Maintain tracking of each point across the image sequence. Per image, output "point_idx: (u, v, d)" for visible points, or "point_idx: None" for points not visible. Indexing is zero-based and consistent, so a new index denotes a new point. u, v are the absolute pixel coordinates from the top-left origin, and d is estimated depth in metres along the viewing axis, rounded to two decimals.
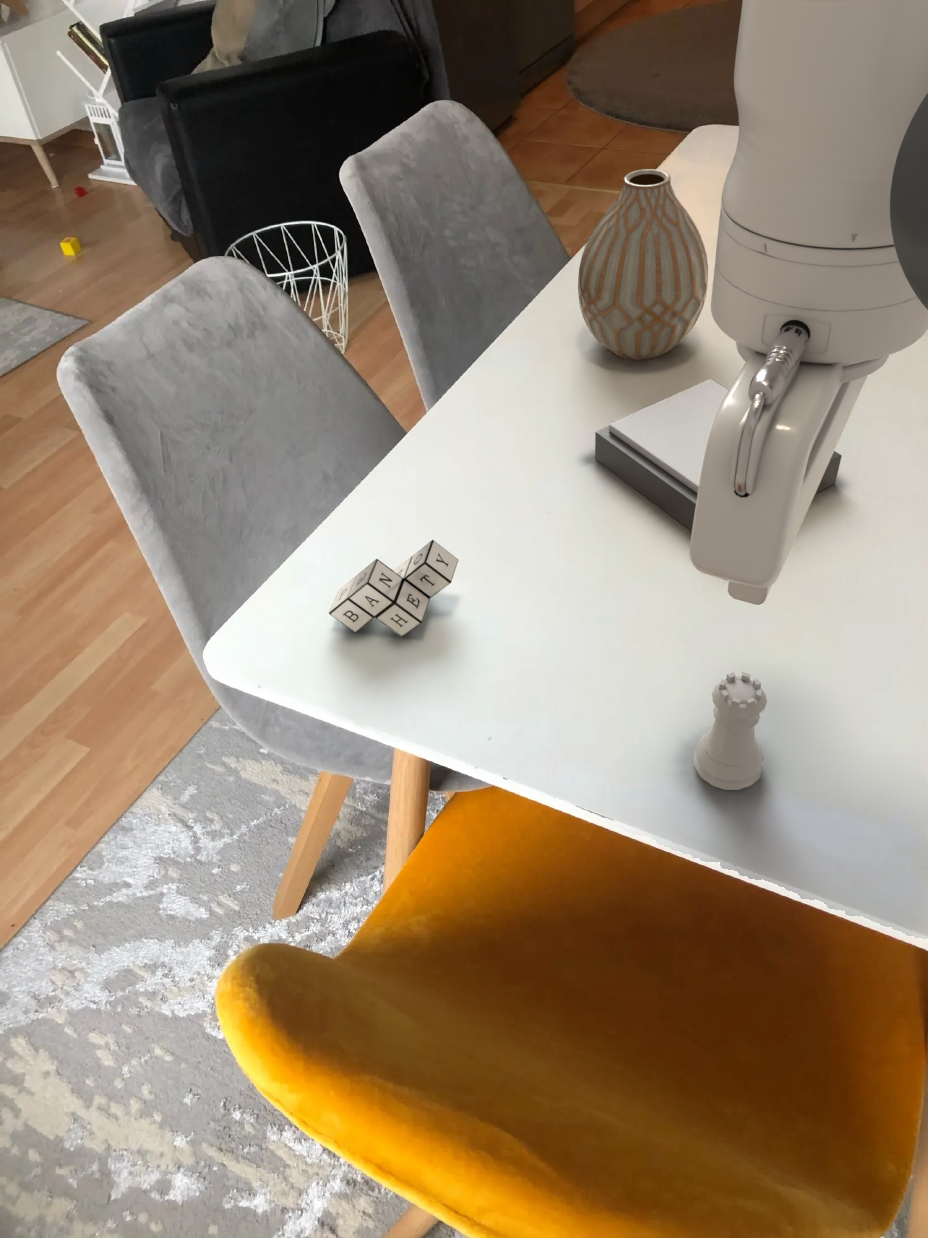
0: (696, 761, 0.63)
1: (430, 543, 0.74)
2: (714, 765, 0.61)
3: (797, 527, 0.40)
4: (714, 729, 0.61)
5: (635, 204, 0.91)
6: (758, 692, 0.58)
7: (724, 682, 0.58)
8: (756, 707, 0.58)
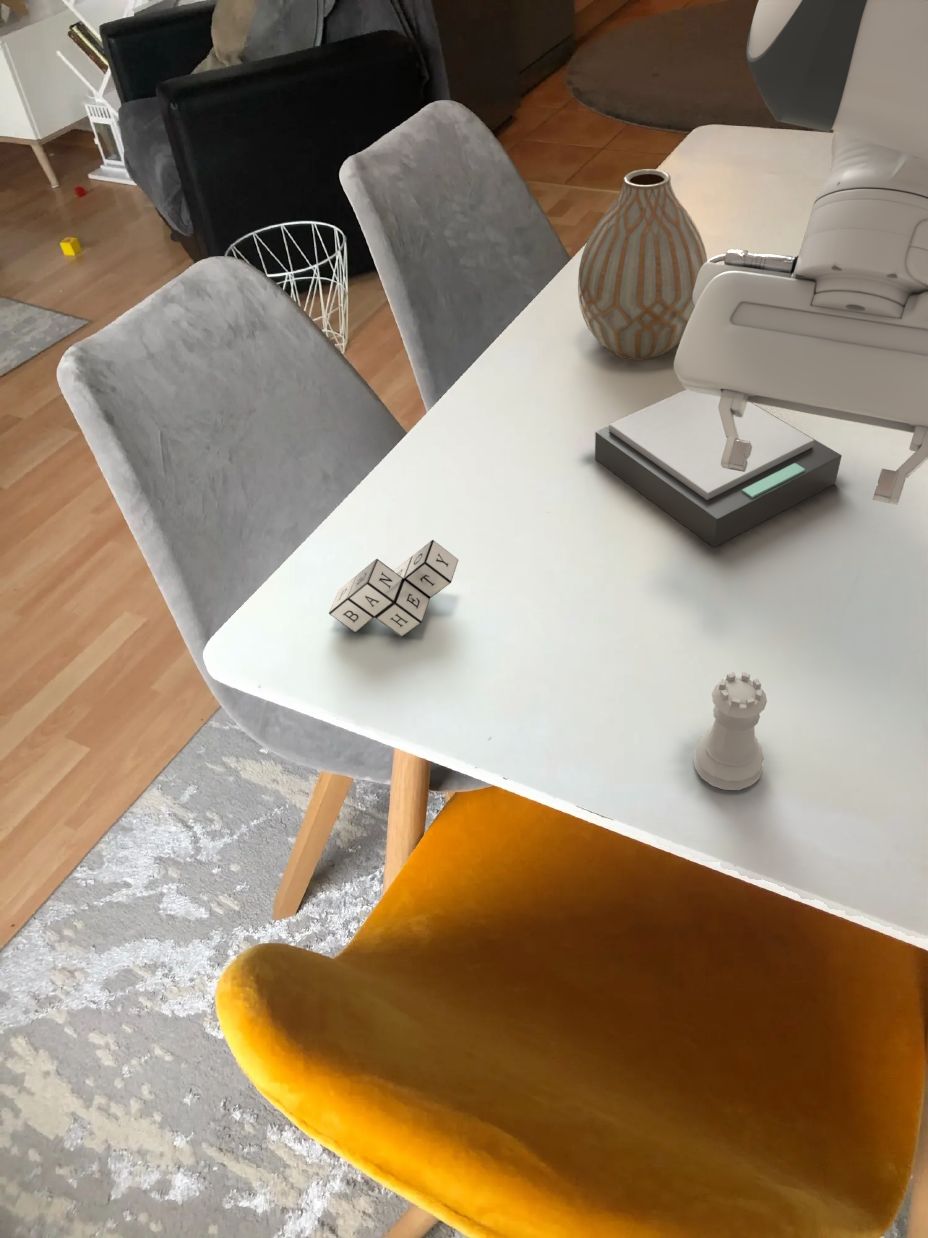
0: (696, 761, 0.63)
1: (430, 543, 0.74)
2: (713, 765, 0.61)
3: (727, 365, 0.61)
4: (714, 729, 0.61)
5: (635, 204, 0.91)
6: (758, 692, 0.58)
7: (724, 682, 0.58)
8: (756, 707, 0.58)
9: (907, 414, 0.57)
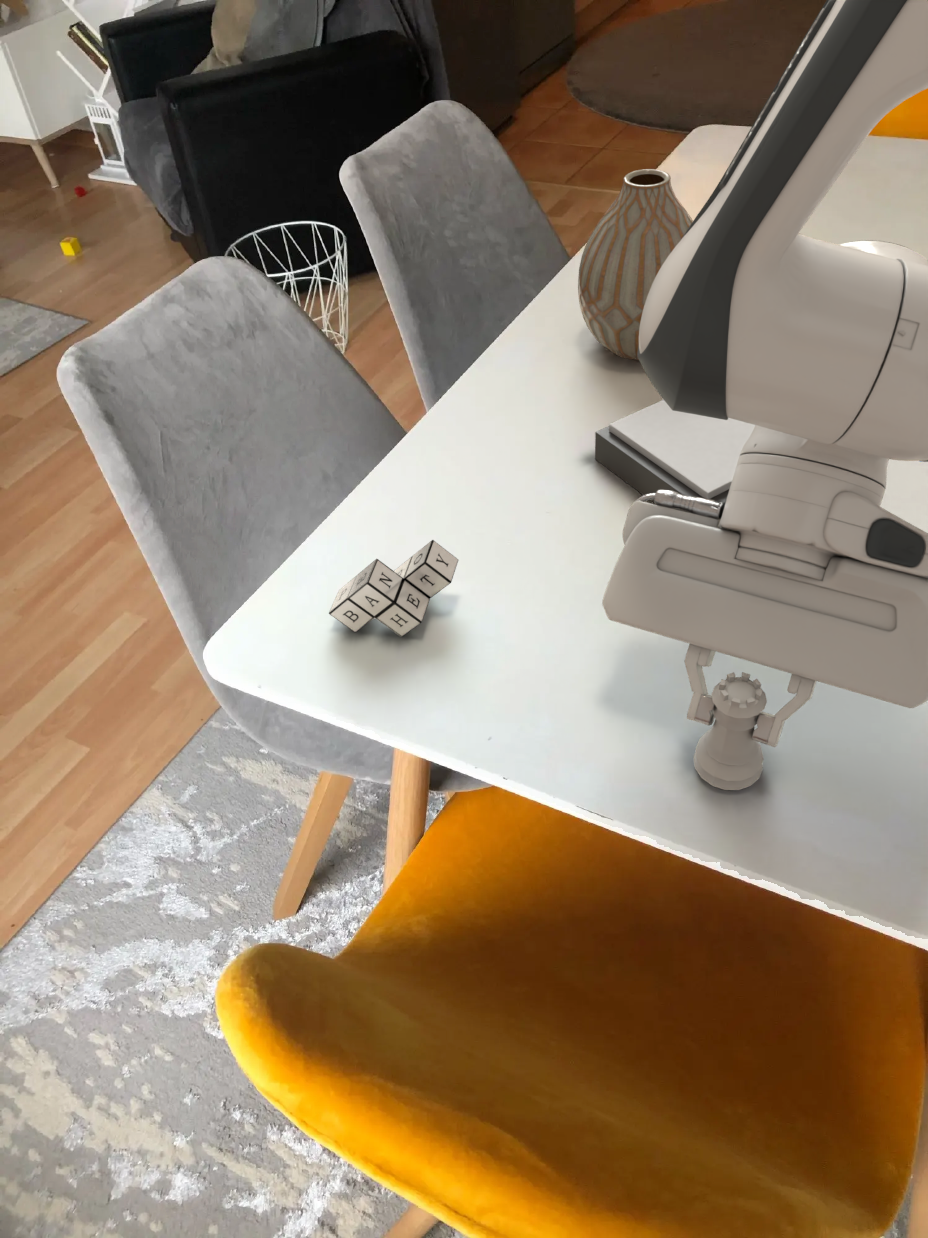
0: (696, 761, 0.63)
1: (430, 543, 0.74)
2: (714, 765, 0.61)
3: (653, 611, 0.61)
4: (714, 729, 0.61)
5: (635, 204, 0.91)
6: (758, 692, 0.58)
7: (724, 682, 0.58)
8: (756, 707, 0.58)
9: (827, 678, 0.57)
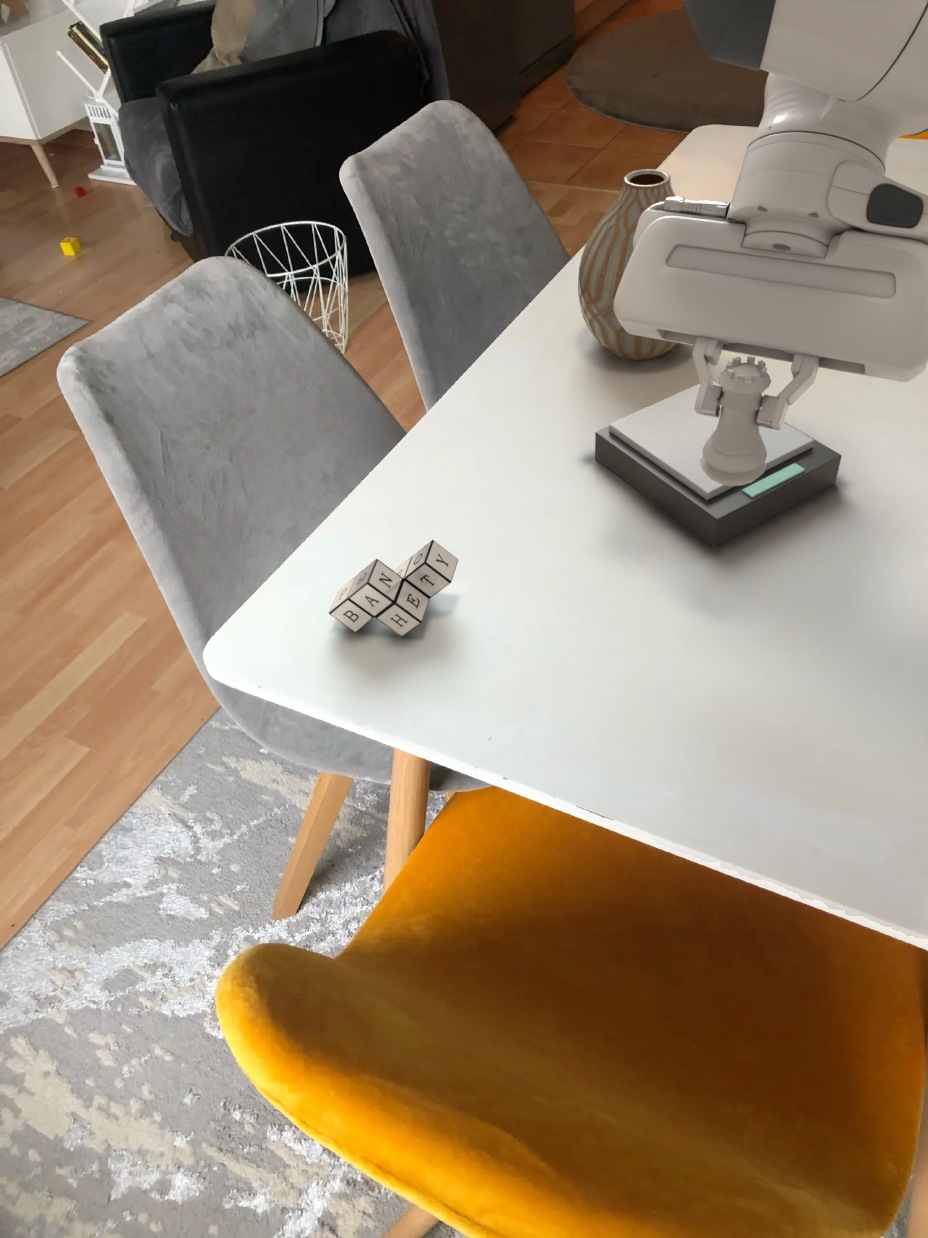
0: (702, 463, 0.66)
1: (430, 543, 0.74)
2: (720, 457, 0.64)
3: (662, 305, 0.63)
4: (720, 420, 0.64)
5: (635, 204, 0.91)
6: (763, 369, 0.60)
7: (730, 363, 0.61)
8: (761, 383, 0.60)
9: (829, 349, 0.59)
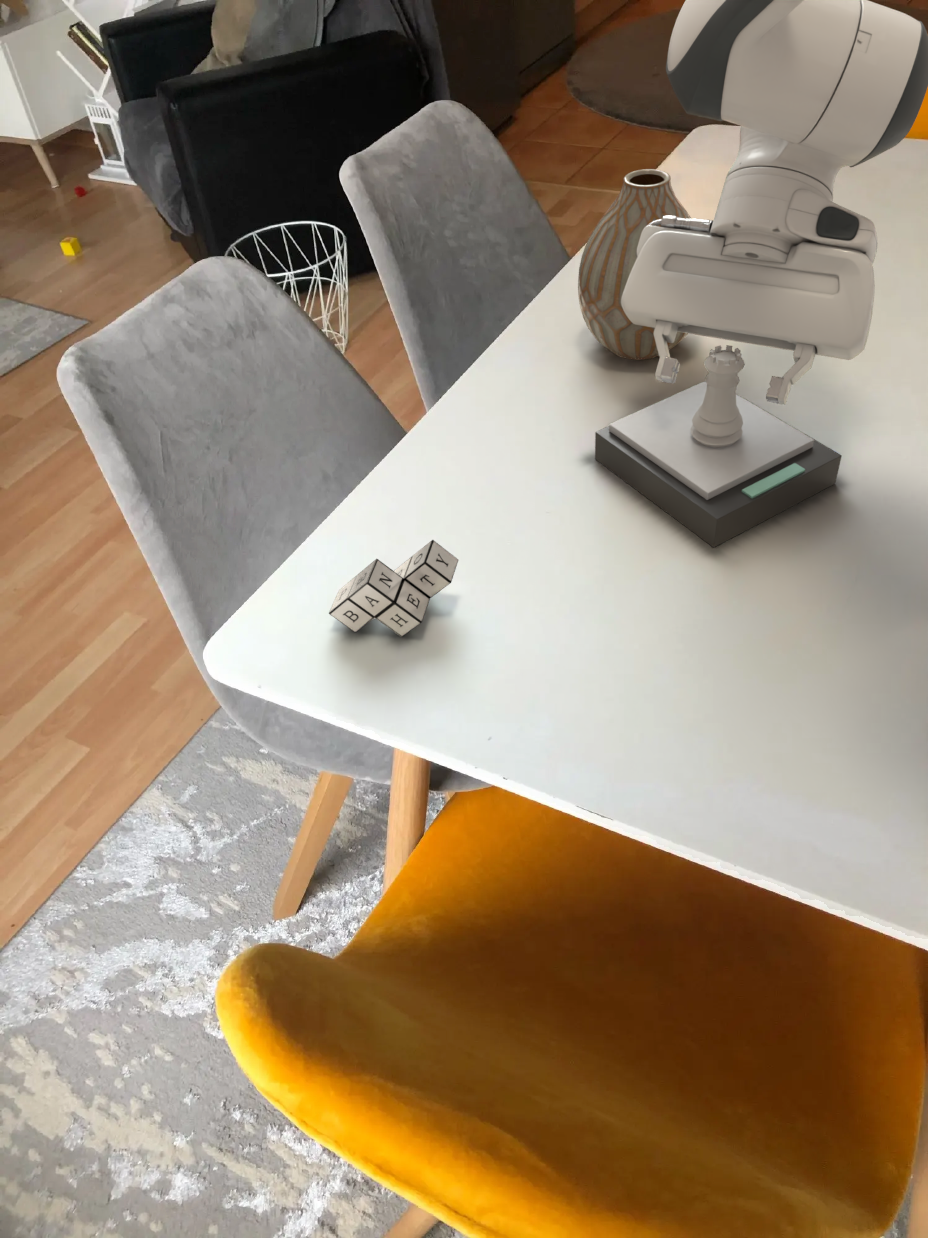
0: (692, 430, 0.84)
1: (430, 543, 0.74)
2: (705, 425, 0.82)
3: (659, 301, 0.81)
4: (706, 395, 0.81)
5: (635, 204, 0.91)
6: (738, 354, 0.78)
7: (713, 350, 0.79)
8: (736, 365, 0.78)
9: (789, 334, 0.76)
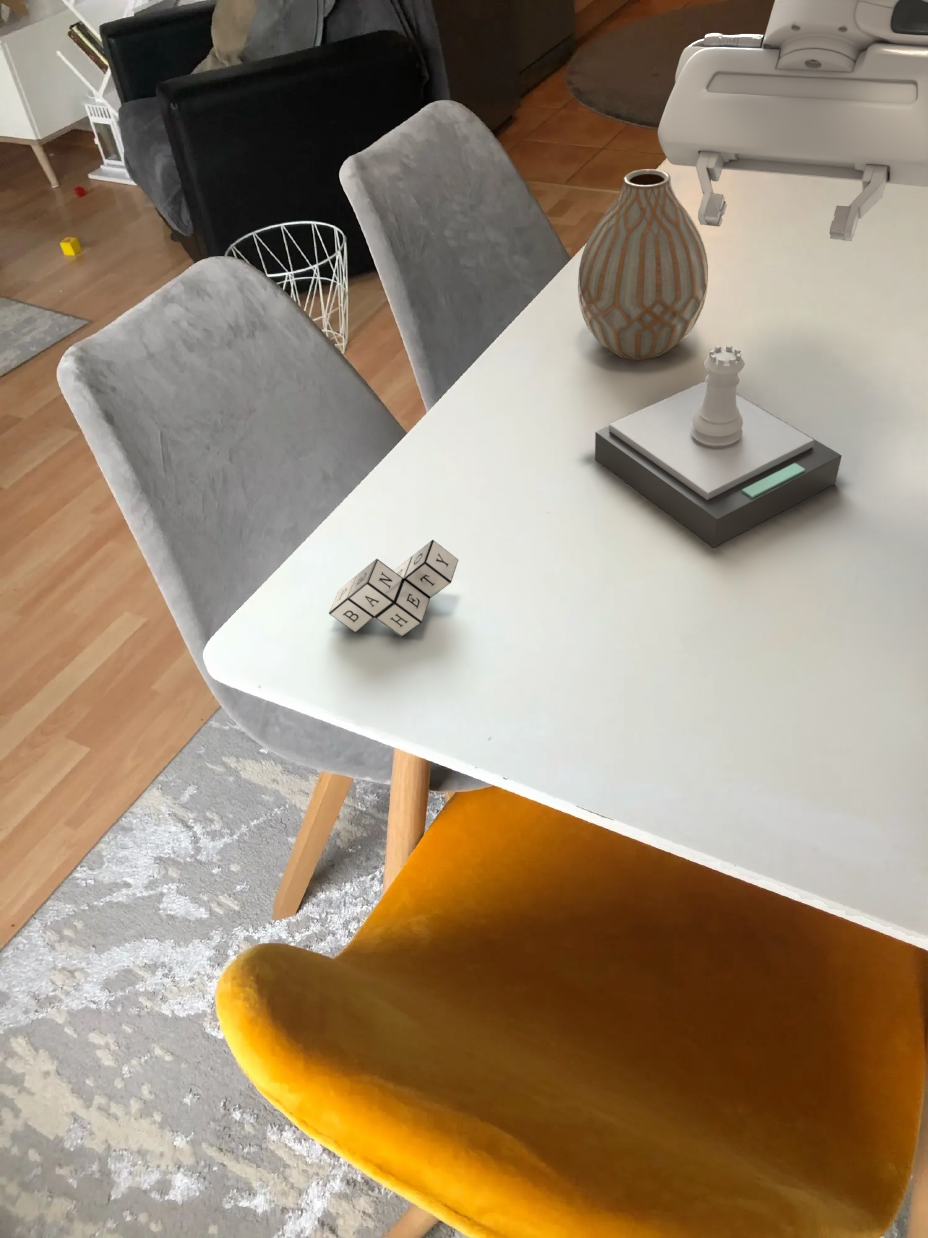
0: (692, 430, 0.84)
1: (430, 543, 0.74)
2: (705, 425, 0.82)
3: (703, 127, 0.70)
4: (706, 395, 0.81)
5: (635, 204, 0.91)
6: (738, 354, 0.78)
7: (713, 350, 0.79)
8: (736, 365, 0.78)
9: (857, 153, 0.65)
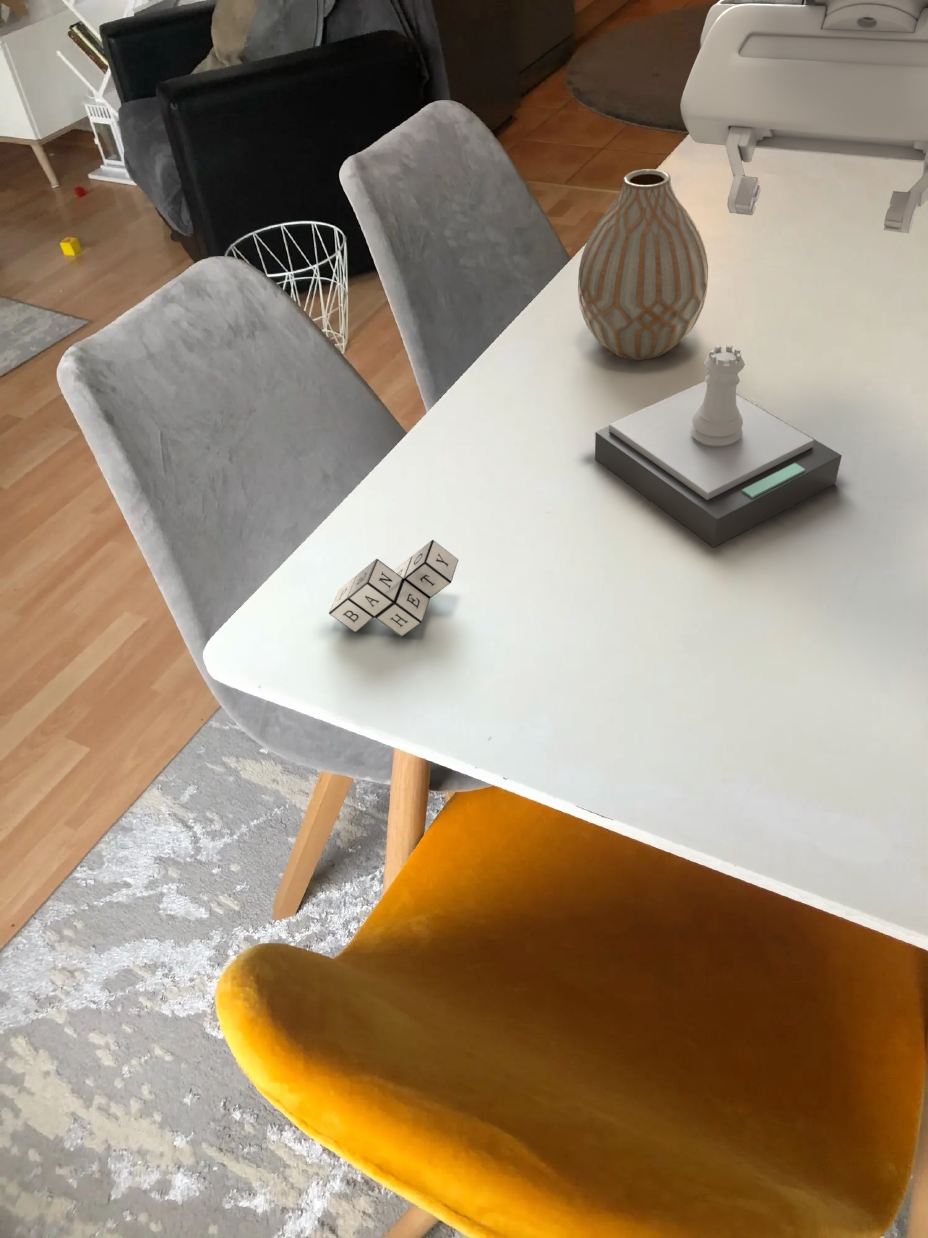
0: (692, 430, 0.84)
1: (430, 543, 0.74)
2: (705, 425, 0.82)
3: (734, 98, 0.59)
4: (706, 395, 0.81)
5: (635, 204, 0.91)
6: (738, 354, 0.78)
7: (713, 350, 0.79)
8: (736, 365, 0.78)
9: (920, 129, 0.55)
